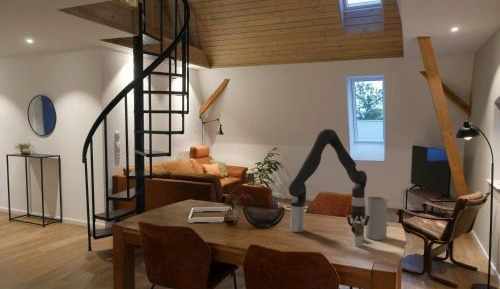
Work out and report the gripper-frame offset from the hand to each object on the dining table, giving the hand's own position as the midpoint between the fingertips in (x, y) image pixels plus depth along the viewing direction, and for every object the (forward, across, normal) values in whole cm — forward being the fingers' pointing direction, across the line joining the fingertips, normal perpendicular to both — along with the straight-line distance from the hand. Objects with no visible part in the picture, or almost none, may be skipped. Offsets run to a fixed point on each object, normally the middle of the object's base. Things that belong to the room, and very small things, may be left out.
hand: (357, 232), depth 212 cm
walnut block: (+1, 0, 0) cm, 1 cm away
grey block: (+8, +4, +9) cm, 13 cm away
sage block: (+8, 0, 0) cm, 8 cm away
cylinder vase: (+8, +17, +13) cm, 23 cm away
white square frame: (+8, -90, +71) cm, 115 cm away
